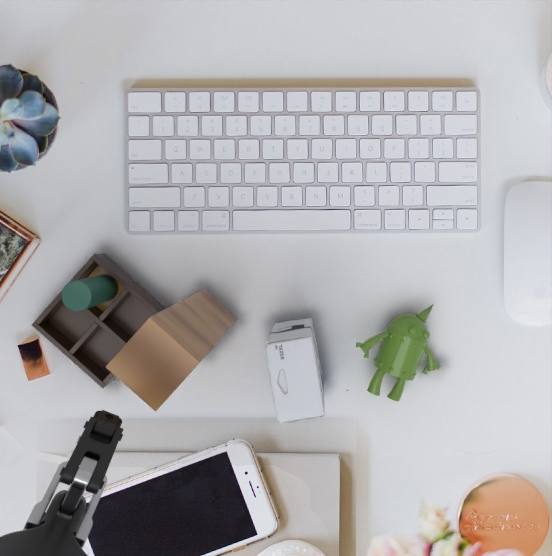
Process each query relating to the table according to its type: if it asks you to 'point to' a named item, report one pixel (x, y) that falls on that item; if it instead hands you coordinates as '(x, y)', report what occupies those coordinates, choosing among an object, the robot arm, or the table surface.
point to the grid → (98, 321)
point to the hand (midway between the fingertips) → (88, 460)
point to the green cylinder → (89, 292)
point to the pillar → (170, 347)
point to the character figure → (400, 351)
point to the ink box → (295, 371)
